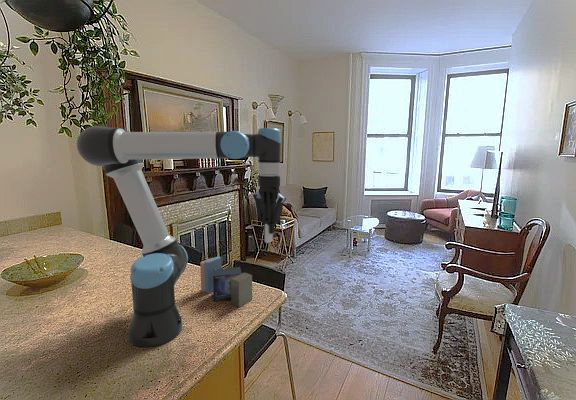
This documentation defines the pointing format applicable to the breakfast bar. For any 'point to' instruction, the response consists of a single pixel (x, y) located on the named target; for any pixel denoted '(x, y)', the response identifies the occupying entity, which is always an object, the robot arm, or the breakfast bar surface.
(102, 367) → the breakfast bar surface
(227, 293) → the small box
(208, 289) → the standing books
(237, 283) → the bookend
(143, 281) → the robot arm
